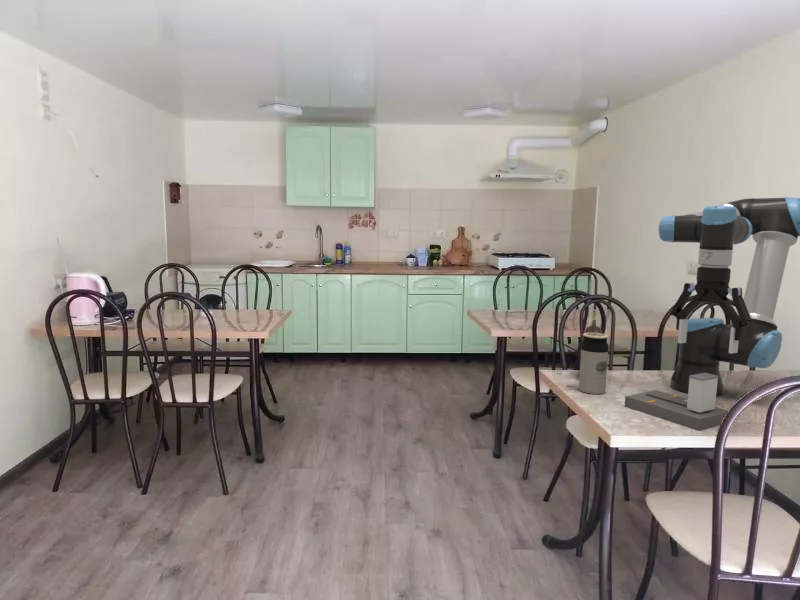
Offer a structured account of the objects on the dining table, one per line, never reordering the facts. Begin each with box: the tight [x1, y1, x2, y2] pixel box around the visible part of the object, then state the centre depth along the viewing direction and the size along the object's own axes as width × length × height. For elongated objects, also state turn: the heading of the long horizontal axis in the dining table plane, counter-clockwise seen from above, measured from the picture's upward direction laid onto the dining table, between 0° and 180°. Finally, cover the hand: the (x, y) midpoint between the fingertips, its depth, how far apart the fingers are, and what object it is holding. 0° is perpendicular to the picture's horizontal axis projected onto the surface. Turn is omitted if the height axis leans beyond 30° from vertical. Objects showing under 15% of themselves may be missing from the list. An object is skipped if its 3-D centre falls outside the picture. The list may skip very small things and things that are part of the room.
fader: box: [687, 373, 718, 413], centre depth 146 cm, size 4×7×9 cm, turn 121°
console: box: [624, 389, 729, 431], centre depth 153 cm, size 22×14×3 cm, turn 31°
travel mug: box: [578, 332, 610, 395], centre depth 173 cm, size 8×8×18 cm
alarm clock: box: [579, 319, 603, 362], centre depth 189 cm, size 15×7×20 cm, turn 159°
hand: (706, 347), depth 145 cm, fingers open, 13 cm apart
